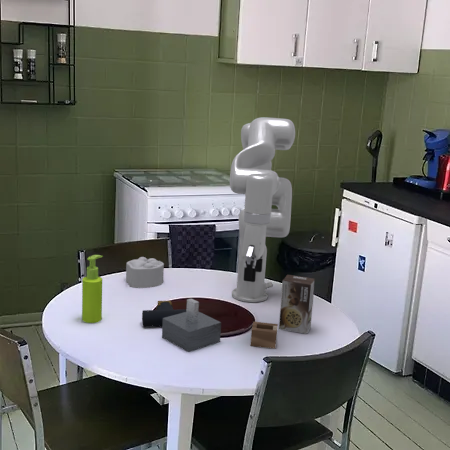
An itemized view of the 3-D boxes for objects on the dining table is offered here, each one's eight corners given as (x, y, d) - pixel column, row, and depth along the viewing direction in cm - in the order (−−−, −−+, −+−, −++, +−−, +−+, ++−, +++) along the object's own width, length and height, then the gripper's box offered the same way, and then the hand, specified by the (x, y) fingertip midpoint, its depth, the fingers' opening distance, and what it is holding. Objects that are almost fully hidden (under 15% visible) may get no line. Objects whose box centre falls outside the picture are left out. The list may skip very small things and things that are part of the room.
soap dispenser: (107, 317, 203) (108, 255, 198) (94, 324, 196) (94, 261, 192) (91, 313, 205) (92, 252, 200) (78, 320, 199) (78, 257, 194)
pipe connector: (140, 299, 205) (187, 298, 209) (139, 314, 207) (186, 313, 210) (144, 313, 194) (193, 312, 198) (143, 330, 196) (192, 328, 199)
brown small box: (252, 337, 195) (253, 321, 193) (276, 339, 194) (277, 324, 193) (250, 346, 188) (251, 329, 187) (275, 348, 188) (276, 332, 186)
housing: (193, 327, 198) (195, 290, 196) (219, 341, 190) (222, 302, 187) (161, 337, 190) (163, 298, 188) (188, 352, 182) (190, 311, 179)
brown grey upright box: (311, 327, 205) (316, 278, 201) (306, 334, 199) (311, 284, 195) (282, 321, 208) (287, 273, 204) (277, 329, 202) (282, 279, 198)
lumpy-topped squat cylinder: (124, 279, 237) (124, 256, 235) (158, 276, 243) (158, 254, 241) (132, 289, 228) (132, 265, 226) (167, 286, 233) (168, 262, 231)
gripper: (250, 210, 192) (246, 266, 196) (237, 222, 175) (233, 283, 179) (275, 213, 190) (271, 269, 194) (264, 226, 174) (259, 287, 178)
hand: (252, 276), depth 187 cm, fingers open, 9 cm apart
